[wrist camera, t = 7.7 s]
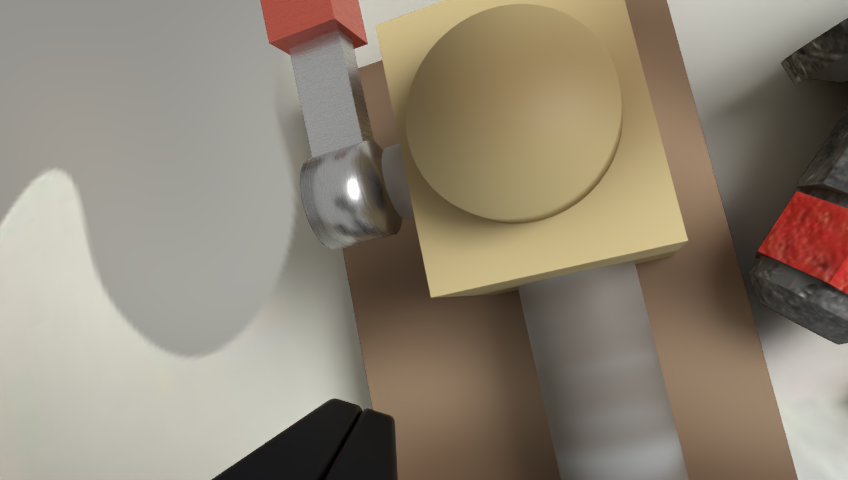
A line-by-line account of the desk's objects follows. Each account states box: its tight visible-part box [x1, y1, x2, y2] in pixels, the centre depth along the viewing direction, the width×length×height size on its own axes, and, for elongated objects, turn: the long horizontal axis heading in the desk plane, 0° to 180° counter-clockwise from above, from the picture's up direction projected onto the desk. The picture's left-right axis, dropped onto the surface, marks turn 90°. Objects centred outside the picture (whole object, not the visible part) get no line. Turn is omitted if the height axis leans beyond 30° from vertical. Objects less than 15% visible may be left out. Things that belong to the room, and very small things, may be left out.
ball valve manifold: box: [343, 0, 798, 480], centre depth 16 cm, size 16×11×8 cm
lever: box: [260, 0, 402, 250], centre depth 16 cm, size 2×2×10 cm
